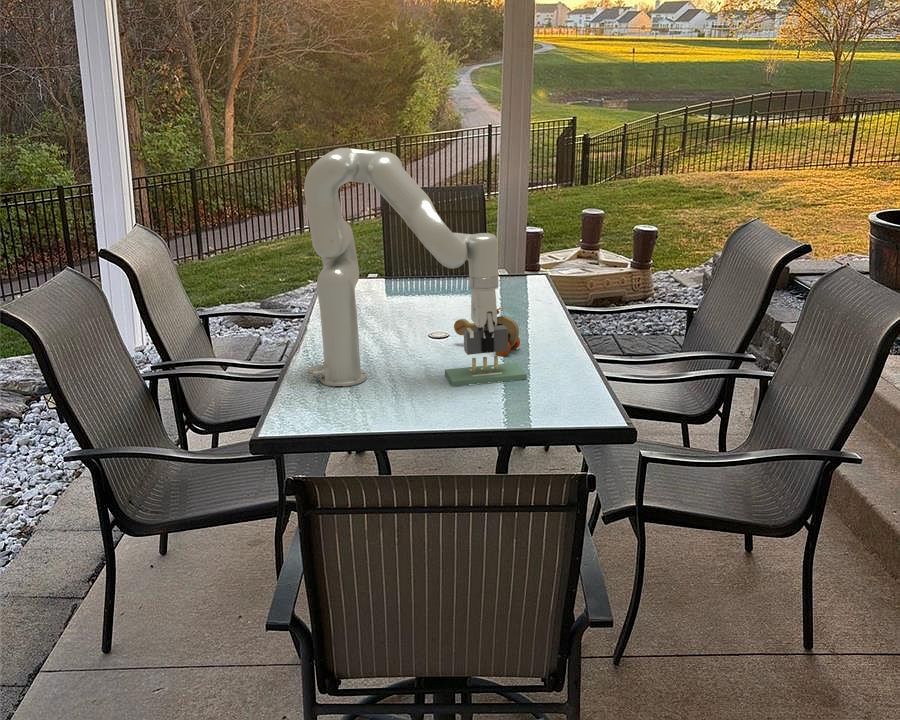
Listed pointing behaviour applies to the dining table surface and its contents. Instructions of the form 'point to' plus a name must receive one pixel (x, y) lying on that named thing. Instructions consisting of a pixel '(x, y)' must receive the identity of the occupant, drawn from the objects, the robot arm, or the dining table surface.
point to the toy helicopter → (506, 321)
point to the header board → (485, 373)
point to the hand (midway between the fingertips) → (485, 348)
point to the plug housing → (475, 334)
